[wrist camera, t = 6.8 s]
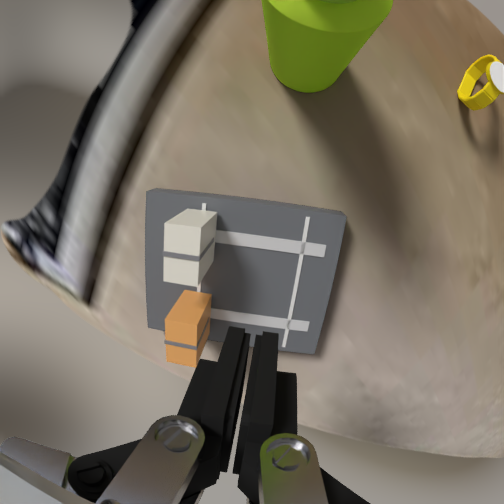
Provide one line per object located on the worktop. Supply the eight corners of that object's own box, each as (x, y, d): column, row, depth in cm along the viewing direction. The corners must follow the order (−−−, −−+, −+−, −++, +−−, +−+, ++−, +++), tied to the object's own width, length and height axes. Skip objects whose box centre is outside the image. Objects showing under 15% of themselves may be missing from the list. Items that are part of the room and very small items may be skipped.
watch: (465, 116, 20) (501, 116, 15) (444, 97, 20) (479, 92, 15) (485, 73, 18) (520, 67, 13) (465, 54, 18) (499, 43, 12)
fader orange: (212, 294, 25) (197, 326, 20) (210, 333, 26) (196, 368, 22) (184, 289, 25) (163, 319, 20) (183, 328, 27) (165, 362, 22)
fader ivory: (218, 212, 23) (201, 228, 18) (214, 260, 24) (198, 287, 19) (187, 208, 23) (163, 223, 18) (184, 256, 24) (162, 281, 19)
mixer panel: (341, 211, 24) (346, 216, 22) (312, 342, 28) (314, 354, 26) (155, 188, 25) (145, 191, 23) (155, 317, 29) (147, 328, 27)
